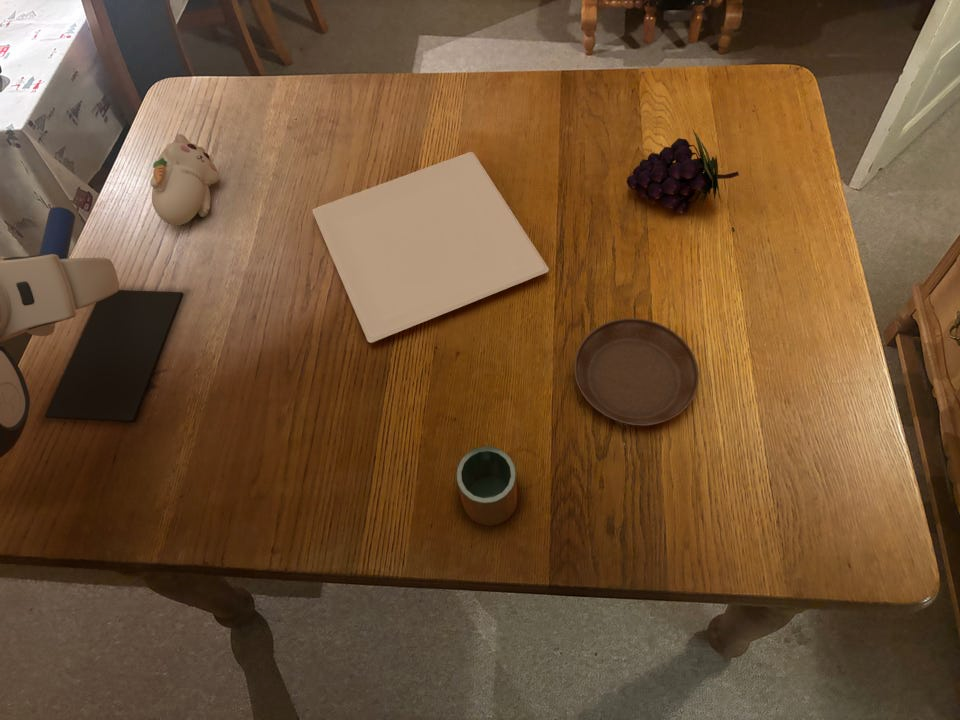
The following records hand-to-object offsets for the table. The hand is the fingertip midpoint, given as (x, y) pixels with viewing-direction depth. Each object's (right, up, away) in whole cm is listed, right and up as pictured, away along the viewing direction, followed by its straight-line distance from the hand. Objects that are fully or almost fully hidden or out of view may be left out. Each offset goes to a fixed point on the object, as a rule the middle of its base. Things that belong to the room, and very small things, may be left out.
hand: (52, 283), depth 77 cm
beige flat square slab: (+42, +7, +18) cm, 47 cm away
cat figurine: (+5, +16, +26) cm, 31 cm away
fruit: (+78, +15, +20) cm, 82 cm away
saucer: (+69, -11, +5) cm, 70 cm away
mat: (+1, -8, +12) cm, 15 cm away
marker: (-2, +9, +5) cm, 10 cm away
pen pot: (+51, -25, -1) cm, 57 cm away
